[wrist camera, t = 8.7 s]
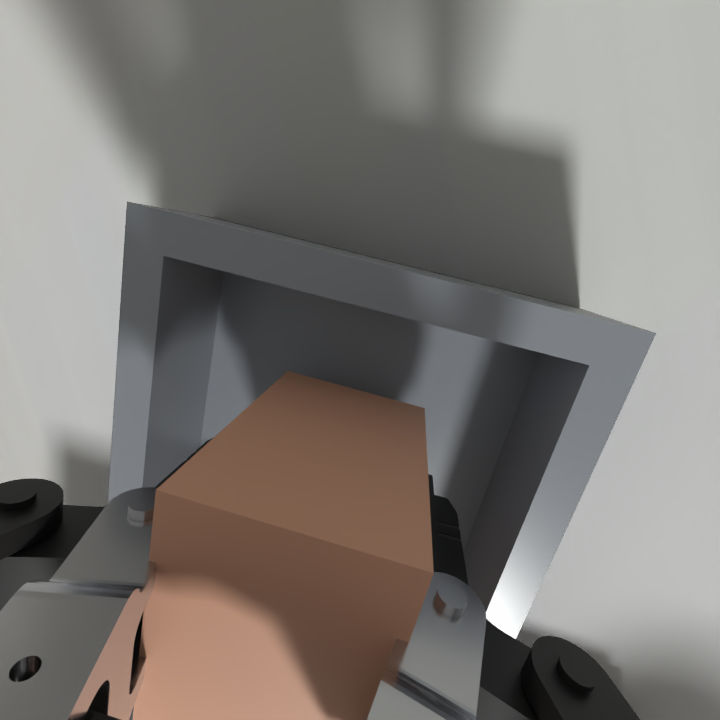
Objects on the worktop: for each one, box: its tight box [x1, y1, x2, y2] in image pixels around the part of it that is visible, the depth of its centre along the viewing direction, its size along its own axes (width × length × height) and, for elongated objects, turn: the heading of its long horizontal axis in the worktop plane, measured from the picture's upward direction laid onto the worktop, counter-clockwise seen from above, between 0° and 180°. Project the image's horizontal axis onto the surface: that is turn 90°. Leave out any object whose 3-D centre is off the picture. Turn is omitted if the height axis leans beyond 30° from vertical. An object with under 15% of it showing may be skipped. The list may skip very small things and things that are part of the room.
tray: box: [108, 202, 656, 639], centre depth 12 cm, size 12×12×4 cm
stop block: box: [132, 371, 434, 720], centre depth 9 cm, size 5×4×6 cm
